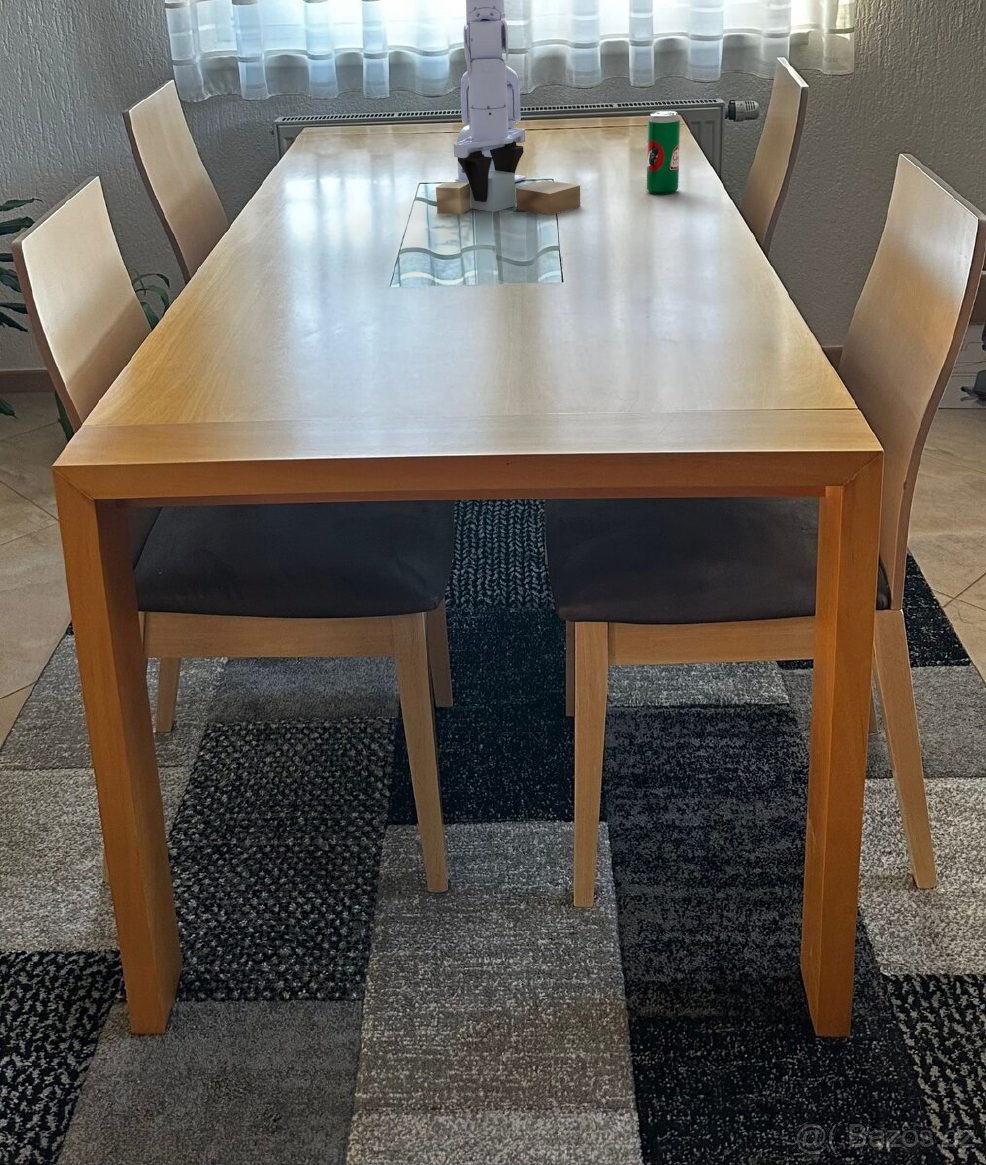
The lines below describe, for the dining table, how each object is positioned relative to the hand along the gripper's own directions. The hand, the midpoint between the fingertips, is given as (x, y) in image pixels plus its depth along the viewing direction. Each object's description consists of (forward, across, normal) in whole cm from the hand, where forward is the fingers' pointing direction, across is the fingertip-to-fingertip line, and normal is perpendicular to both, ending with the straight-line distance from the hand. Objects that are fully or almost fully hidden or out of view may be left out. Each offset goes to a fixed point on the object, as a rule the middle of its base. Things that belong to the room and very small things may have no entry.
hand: (492, 197), depth 202 cm
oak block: (+2, -5, +4) cm, 6 cm away
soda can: (+2, +22, -17) cm, 28 cm away
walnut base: (+2, +4, -8) cm, 9 cm away
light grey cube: (+1, 0, 0) cm, 1 cm away
